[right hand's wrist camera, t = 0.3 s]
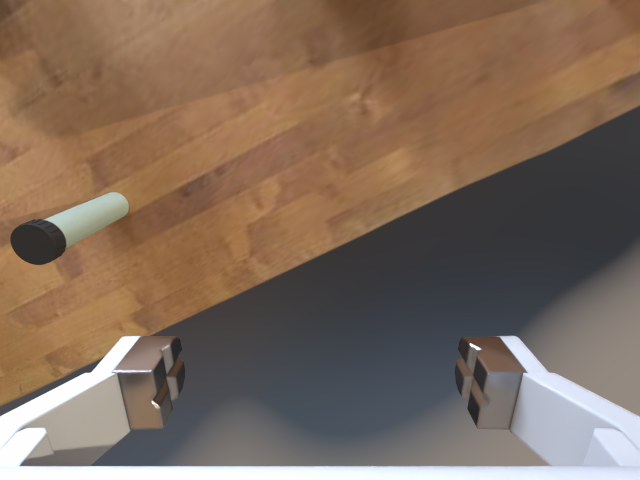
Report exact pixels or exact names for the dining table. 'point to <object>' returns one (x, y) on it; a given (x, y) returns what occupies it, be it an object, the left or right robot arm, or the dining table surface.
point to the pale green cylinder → (90, 217)
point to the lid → (38, 241)
